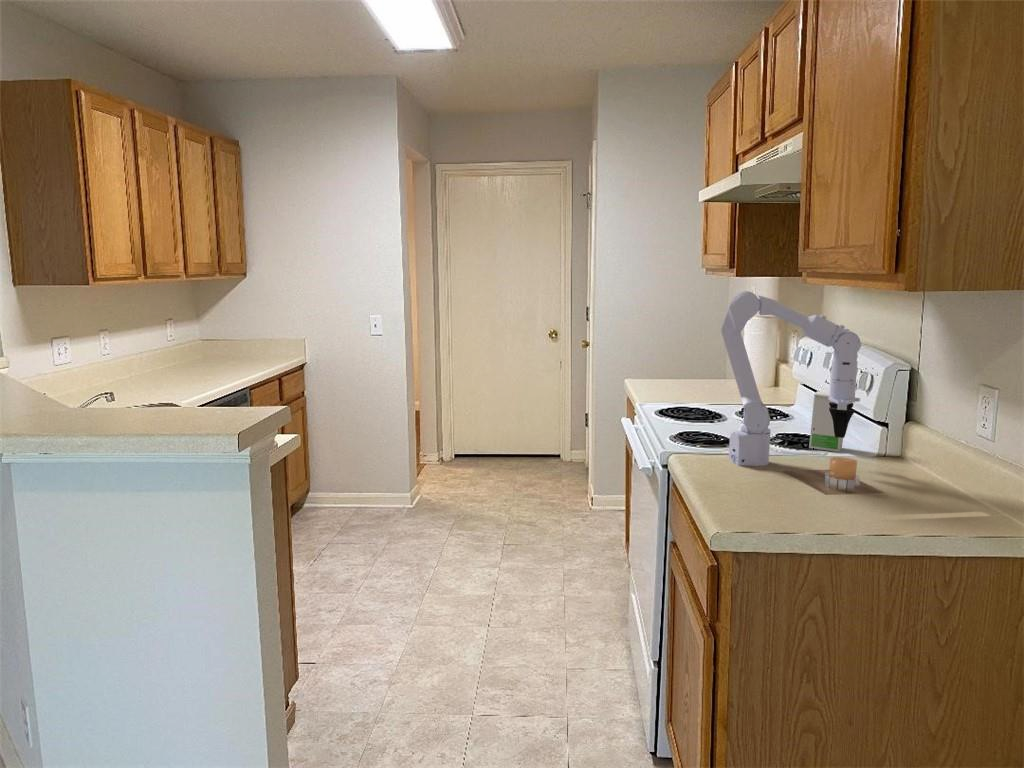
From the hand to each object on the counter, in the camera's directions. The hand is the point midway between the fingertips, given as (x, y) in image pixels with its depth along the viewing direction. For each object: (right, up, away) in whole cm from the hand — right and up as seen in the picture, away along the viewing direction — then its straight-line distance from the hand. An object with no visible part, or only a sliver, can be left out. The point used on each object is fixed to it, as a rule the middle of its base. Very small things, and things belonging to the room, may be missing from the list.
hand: (839, 434), depth 189 cm
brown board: (-6, -11, -10) cm, 17 cm away
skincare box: (+8, -6, +26) cm, 28 cm away
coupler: (-6, -11, -15) cm, 19 cm away
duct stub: (-6, -11, -15) cm, 19 cm away
